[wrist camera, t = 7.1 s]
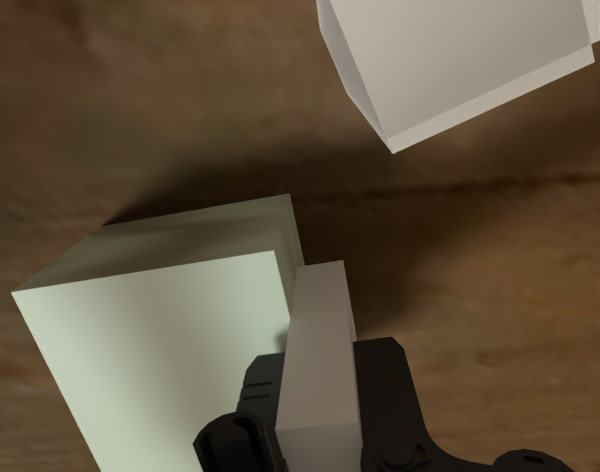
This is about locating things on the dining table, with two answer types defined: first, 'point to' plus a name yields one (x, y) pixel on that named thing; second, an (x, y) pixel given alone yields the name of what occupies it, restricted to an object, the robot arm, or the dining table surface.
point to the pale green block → (164, 324)
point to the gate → (450, 56)
